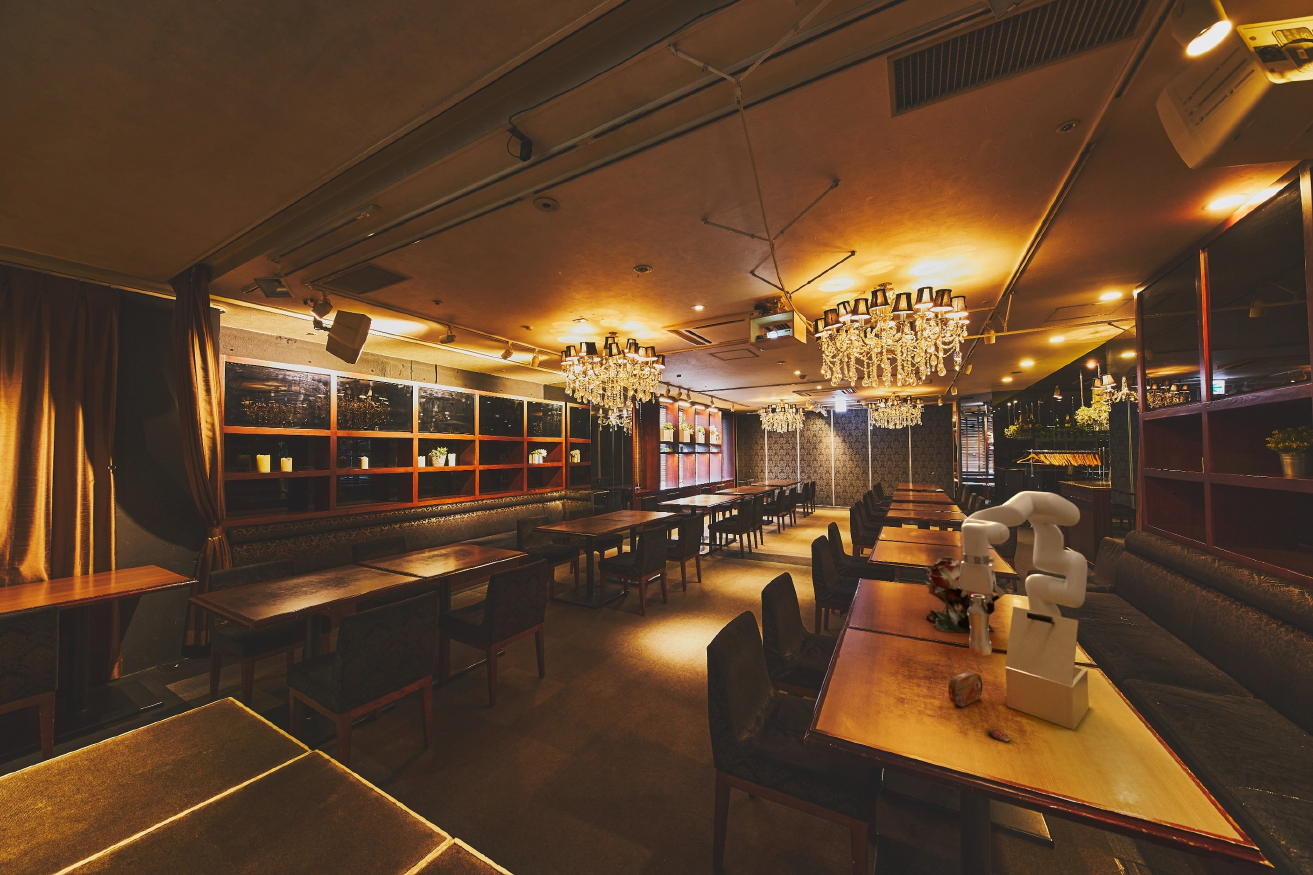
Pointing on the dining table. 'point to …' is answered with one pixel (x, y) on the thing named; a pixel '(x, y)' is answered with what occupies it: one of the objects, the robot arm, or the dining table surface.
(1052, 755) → the dining table surface
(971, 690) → the tin
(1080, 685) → the bin
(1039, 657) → the bin lid
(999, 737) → the matchbox
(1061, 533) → the robot arm
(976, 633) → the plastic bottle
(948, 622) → the rose bouquet
